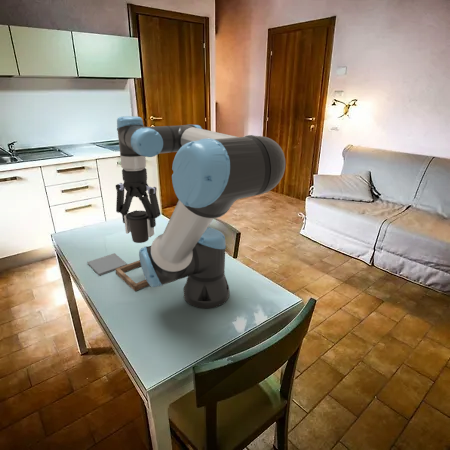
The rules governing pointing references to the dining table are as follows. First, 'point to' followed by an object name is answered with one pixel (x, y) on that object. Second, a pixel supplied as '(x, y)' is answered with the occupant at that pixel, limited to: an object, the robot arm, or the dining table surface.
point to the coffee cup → (138, 226)
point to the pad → (106, 264)
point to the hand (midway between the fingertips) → (140, 233)
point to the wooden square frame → (127, 279)
